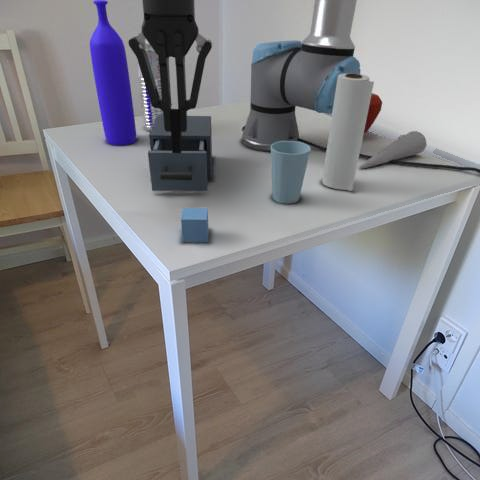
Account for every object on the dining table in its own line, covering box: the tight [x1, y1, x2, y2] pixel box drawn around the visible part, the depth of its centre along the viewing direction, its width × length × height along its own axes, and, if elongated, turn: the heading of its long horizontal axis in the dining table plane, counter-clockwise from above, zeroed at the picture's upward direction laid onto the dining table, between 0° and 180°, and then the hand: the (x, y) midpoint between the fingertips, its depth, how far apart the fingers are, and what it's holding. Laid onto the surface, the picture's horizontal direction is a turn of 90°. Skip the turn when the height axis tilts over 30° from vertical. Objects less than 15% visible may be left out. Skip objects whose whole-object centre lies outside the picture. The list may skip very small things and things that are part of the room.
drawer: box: [147, 139, 208, 192], centre depth 89 cm, size 18×11×8 cm, turn 2°
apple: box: [363, 92, 383, 135], centre depth 118 cm, size 11×11×12 cm
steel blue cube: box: [180, 207, 209, 243], centre depth 74 cm, size 4×4×4 cm
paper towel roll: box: [321, 73, 375, 192], centre depth 87 cm, size 7×6×21 cm
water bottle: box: [136, 22, 163, 132], centre depth 114 cm, size 7×7×25 cm
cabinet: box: [148, 115, 213, 182], centre depth 97 cm, size 15×13×10 cm
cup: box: [270, 141, 311, 205], centre depth 85 cm, size 8×8×10 cm
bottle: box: [89, 0, 137, 146], centre depth 104 cm, size 8×8×30 cm
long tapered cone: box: [360, 130, 427, 169], centre depth 104 cm, size 6×6×19 cm
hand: (177, 150), depth 76 cm, fingers closed
